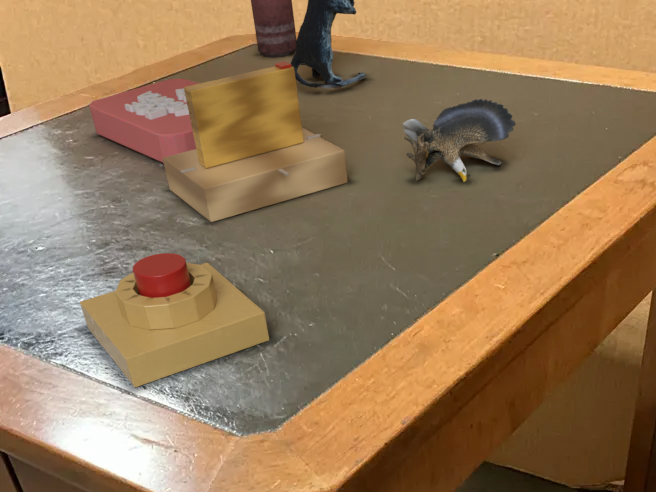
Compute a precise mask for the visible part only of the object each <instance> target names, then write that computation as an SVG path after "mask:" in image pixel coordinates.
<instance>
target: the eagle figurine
mask: <svg viewBox="0 0 656 492" xmlns="http://www.w3.org/2000/svg"><path fill="white" fill-rule="evenodd" d="M512 118H513V114H512V113H510V112H509V109H508V108H505V107H504V104H502V103H498V102H496V101H493V100H491V99H490V100H488V99H485V98H484V99H483V98H479V99H477V98H475V99H473V100H472V101H467V102H465V103H459V104H458V105H454V106H449V107H446V108H443V109H442V111H441V112H440V113H439V114H438V116H437V117H436V119H435V120H434V121H433V124H432V129H430V128H428V127H427V126H425V125H424V124H423V123H422V122H421V121H419V120H418V119H417V118H412V119H411V118H410V119H407V120H406V121H404V122H403V123H402V128H403V132H404V134H405V135H406V136H404V140H406V141H407V142H409V143H410V144H411V146H412V150H413V153H414V154H413V153H411V152H407V153H406V154H405V155H406V157H407V158H408V159H411V160H412V161H413V162H414V164H415V170H416V171H415V177H414V178H415V181H416V182H419V181H420V180H422V178H423V176H425V174H427V171H428V169H429V168H430V167H431V165H432V164H434V163H435V162H437V161H439V160H440V161H442V162H443V163H444V164H445V165H446V166H448V167H449V168H451V169H452V170H453V171H455V172H456V174H458V176H460V178H461V180H462V182H463V183H465V182H467V168H466V166H465V164H464V163H463V161H462V159H461V156H466V157H471V158H474V159H478V160H482V161H485V162H486V163H490V164H492V165H495V166H501V165H502V161H501V160H499V159H497V158H494V157H492V156H490V155H488V154H487V152H485V151H484V149H482V148H481V147H480V146H479V145H481V144H485V143H488V142H499V141H504V140H505V139H508V138H509V137H510V133H511V132H513V131H514V127H515V126H516V125H517V124H516V122H515V120H514V119H512Z"/></svg>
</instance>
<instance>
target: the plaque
mask: <svg viewBox="0 0 656 492" xmlns="http://www.w3.org/2000/svg"><path fill="white" fill-rule="evenodd" d="M196 84H200V83H199V82H196V81H192V80H189V79H186V78H169V79H166V80H162V81H158V82H155V83H150V84H148V85H145V86H139V87H137V88H134V89H130V90H127V91H123V92H120V93H116V94H112V95H108V96H106V97H101V98H98V99H95V100H92V101H91V102H89V105H88V107H89V110H90V114H91V119H92V122H93V126H94V129H95V132H96V134H97V135H99V136H101V137H103V138H106V139H108V140H110V141H113V142H115V143H117V144H119V145H121V146H124V147H126V148H128V149H130V150H133V151H135V152H137V153H140V154H143V155H145V156H146V157H149V158H151V159H154V160H156V161H158V162H160V163H163V157H167V156H171V155H175V154H179V153H183V152H187V151H191V150H195V149H196V144H195V140H194V135H193V130H192V125H191V120H190V116H189V111H188V106H187V101H186V96H185V91H184V87H187V86H192V85H196Z"/></svg>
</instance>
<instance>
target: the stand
mask: <svg viewBox="0 0 656 492" xmlns="http://www.w3.org/2000/svg"><path fill="white" fill-rule="evenodd" d="M302 132H303V140H304V142H303V143H300V144H296V145H292V146H289V147H285V148H281V149H277V150H274V151H270V152H266V153H262V154H259V155H255V156H251V157H247V158H244V159H240V160H236V161H232V162H229V163H225V164H221V165H217V166H214V167H210V168H205V167H203V166H202V165H201V164H200V163H199V159H198V154H197V149H195V150H191V151H187V152H183V153H179V154H175V155H171V156H167V157H163V162H162V163H163V167H164V172H165V176H166V179H167V183H168V188H169V190H170V191H171V192H172V193H173V194H175V195H176V196H178V197H179V199H181V200H182V201H184V202H185V203H186V204H187V205H188V206H190V207H191V208H192V209H194V210H195V211H196V212H197V213H199V214H200V215H201V216H203V217H204V218H205V219H206V220H208V221H209V222H210V223H214V222H217V221H220V220H223V219H227V218H231V217H234V216H238V215H242V214H244V213H248V212H251V211H255V210H258V209H262V208H265V207H268V206H272V205H276V204H279V203H283V202H286V201H289V200H293V199H297V198H300V197H303V196H306V195H309V194H313V193H317V192H320V191H324V190H327V189H331V188H333V187H337V186H341V185H345V184H348V183H349V181H348V173H347V172H348V171H347V164H346V161H347V160H346V152H345V151H346V150H345V149H344V148H341V147H340V146H337V145H336V144H333V142H332V143H331V142H330V141H329V140H327V139H325V138H323V137H321V136H322V135H321V133H316V134H315V133H314V132H311V131H310V130H307V129H306V128H304V127H302Z"/></svg>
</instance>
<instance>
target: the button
mask: <svg viewBox="0 0 656 492" xmlns="http://www.w3.org/2000/svg"><path fill="white" fill-rule="evenodd" d="M186 262H187V260H186V258H185V257H184V256H182V255H181V254H177V253H173V252H172V253H171V252H162V253H157V254H151V255H148V256H145V257H143V258H140V259H139V260H138V261H136V262H135V263H134V265H133V266H132V273H134V277H135V280H136V284H137V288H138V291H139V294H140V295H141V296H145V297H150V298H158V297H167V296H171V295H174V294H177V293H180V292H183V291H184V290H186V289H187V288H189V287H190V286H191V281H190V277H189V272H188V268H187V264H186Z"/></svg>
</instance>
